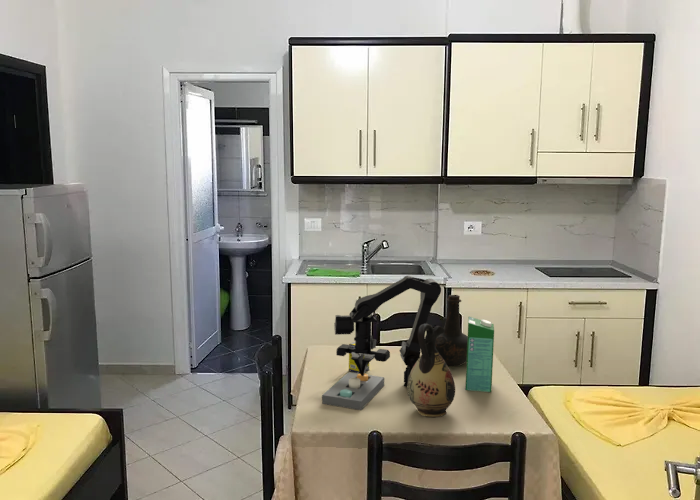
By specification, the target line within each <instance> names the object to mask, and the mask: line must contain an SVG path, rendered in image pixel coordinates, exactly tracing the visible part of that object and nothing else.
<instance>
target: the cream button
mask: <svg viewBox="0 0 700 500" xmlns="http://www.w3.org/2000/svg"><path fill="white" fill-rule="evenodd" d="M349 388H354V389H360V379H359V378H350V379H349Z"/></svg>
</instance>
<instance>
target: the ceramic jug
mask: <svg viewBox="0 0 700 500" xmlns="http://www.w3.org/2000/svg"><path fill="white" fill-rule="evenodd" d="M443 332H444V327H443V326H440V325H436V326H435V327H433V326H432V324H429V323H427V324H422V325H420V327H419V329H418V341H419V345H420V357H419V359H418V360H417V362H416V363H415V365H414V367H413V368H412V370H411V373H410V375H409V379H408V385H407V386H406V387H407V388H406V389H407V390H406V391H407V396H408V398H409V400H410V401H411V403H412V404H413V406H414V407H416V410H417V412H418V413H419V415H421V416H422V417H430V418H433V417H434V418H435V417H437V418H438V417H442V416H445V415H447V410H448V408H449V407H450V406H451V404H452V403H453V401H454V398H455V397H456V385H455V380H454V376H453V373H452V371H451V370H450V366H448V365H447V364H446V362H445V361H444V359H443V358H442V357H441V355H440V354H439V353H438V350H437V349H436V346H435V343H436V339H437V337H438V336H439V335H441V334H442V333H443Z"/></svg>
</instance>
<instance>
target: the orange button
mask: <svg viewBox="0 0 700 500" xmlns="http://www.w3.org/2000/svg"><path fill="white" fill-rule="evenodd" d="M368 375H369V374H368V373H365V374H364V376H361V374H360V373H359V374H358V375H357V378H359V379H360V381H368Z"/></svg>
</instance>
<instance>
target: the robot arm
mask: <svg viewBox="0 0 700 500" xmlns="http://www.w3.org/2000/svg"><path fill="white" fill-rule="evenodd" d="M410 289H411V290H414V291H417V292H419V293H420V301H419V302H420V303H419V305H418V308H417V312H416V316H415V318H414V322H413V324H412V329H411V331H410V335H409V337H408V339H407V341H402V342H401V347H400V349H399V351H398V352H399V353H400V358H401V359H402V361H403V363H404V365H405V366H406V367H405V370H404V372H403V386H404V387H407V385H408V379H409V375H410V373H411V370H412V368H413V367H414V365H415V363H416V362H417V360H418V359H419V357H420V356H421V349H420V345H419V341H418V329H419V327H420V325H422V324H428V320H429V317H430V314H431V311H432V308H433V306H434V305H435V303H436V302H437V301H438V299H439V297H440V295H441V293H442V286H441V285H440V284H439V283H438V282H437V281H436V280H434V279H433V278H426V279H425V278H420V277H414V276H411V275H406V276H404V277H402V278H401V279H399V280H397V281H396V282H394V283H392V284H390V285H389V286H386V287H385V288H383V289H381V290H379V291H378V292H376V293H373V294H369V295H365V296H363V297H360V298H358V299H356V300H355V303H354V307H353V309H352V310H351V311H350V313H349V315H340V314H337V315H335V319H334V325H333V327H334V335H338V336H339V335H352V334H353V333H354V331H355V334H354V335H355V336H354V337H353V341H354V342H355V349H354V348H352V346H351V345H349V344H347V343H346V344H345V343H341V345H339V346H338V347H337V348H336V356H339V357H345V356H346V355H347V354H349V353H351V354H352V357H351V359H352V360H354V362H355V364H356V365H357V367H358V369H359V372H360V373H359V374H361V376H364V374H366V372H367V371H366V369H367V366H368V364H369V365H370V362H372V361H373V360H374V359H375V361H377V362H381V363H382V362H387V360H389V359H390V358H391V352H390V351H389V349H384V348H378V349H377V350H374V349H376V345H377V339H375V338H374V337H373V334H372V323H377V322H378V320H377V318H376V317H374V314H373V313H375V312H376V311H377V310H378V309H379V308H380V307H381V306H382V305H383V304H385V303H387V302H388V301H390V300H392V299H394V298H396V297H397V296H399V295H401V294H402V293H405V292H406V291H408V290H410ZM363 357H365V358H364V359H363Z"/></svg>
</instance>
